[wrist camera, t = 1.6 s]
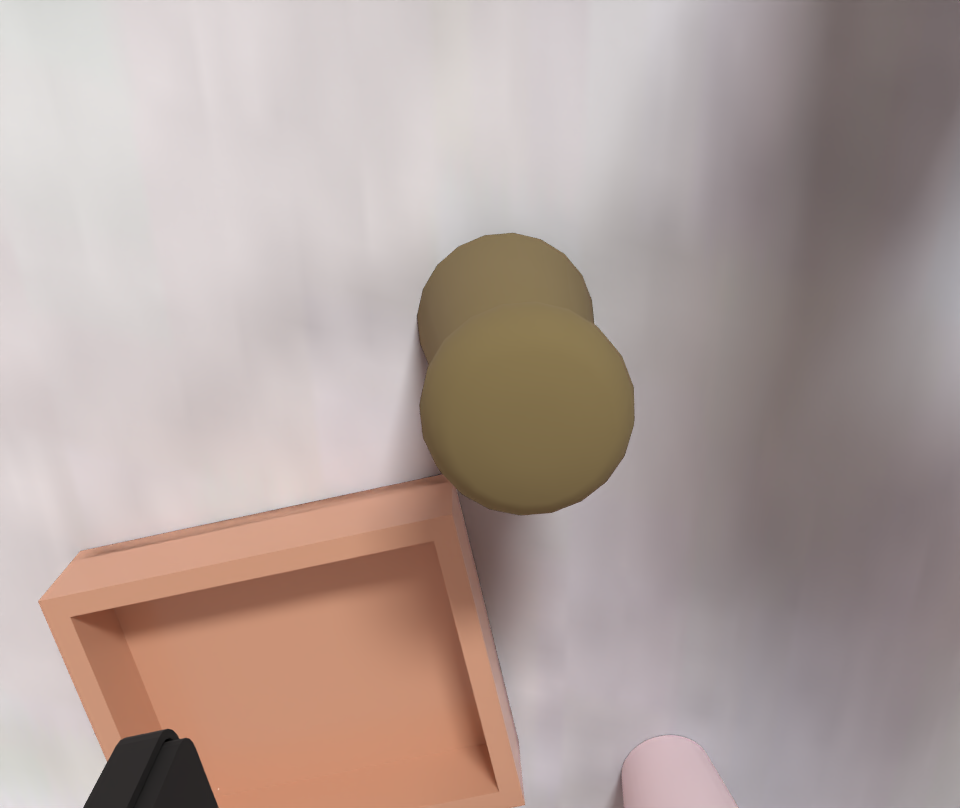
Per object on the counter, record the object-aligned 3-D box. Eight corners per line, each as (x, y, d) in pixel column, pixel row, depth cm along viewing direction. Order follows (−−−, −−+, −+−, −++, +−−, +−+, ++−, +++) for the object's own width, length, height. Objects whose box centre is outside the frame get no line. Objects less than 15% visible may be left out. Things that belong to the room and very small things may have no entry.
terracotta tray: (452, 471, 32) (452, 514, 29) (518, 740, 36) (525, 805, 33) (80, 551, 33) (38, 601, 29) (183, 806, 36) (156, 877, 33)
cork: (550, 429, 32) (598, 587, 21) (391, 369, 31) (360, 503, 20) (622, 273, 30) (713, 361, 20) (456, 204, 29) (458, 258, 19)
